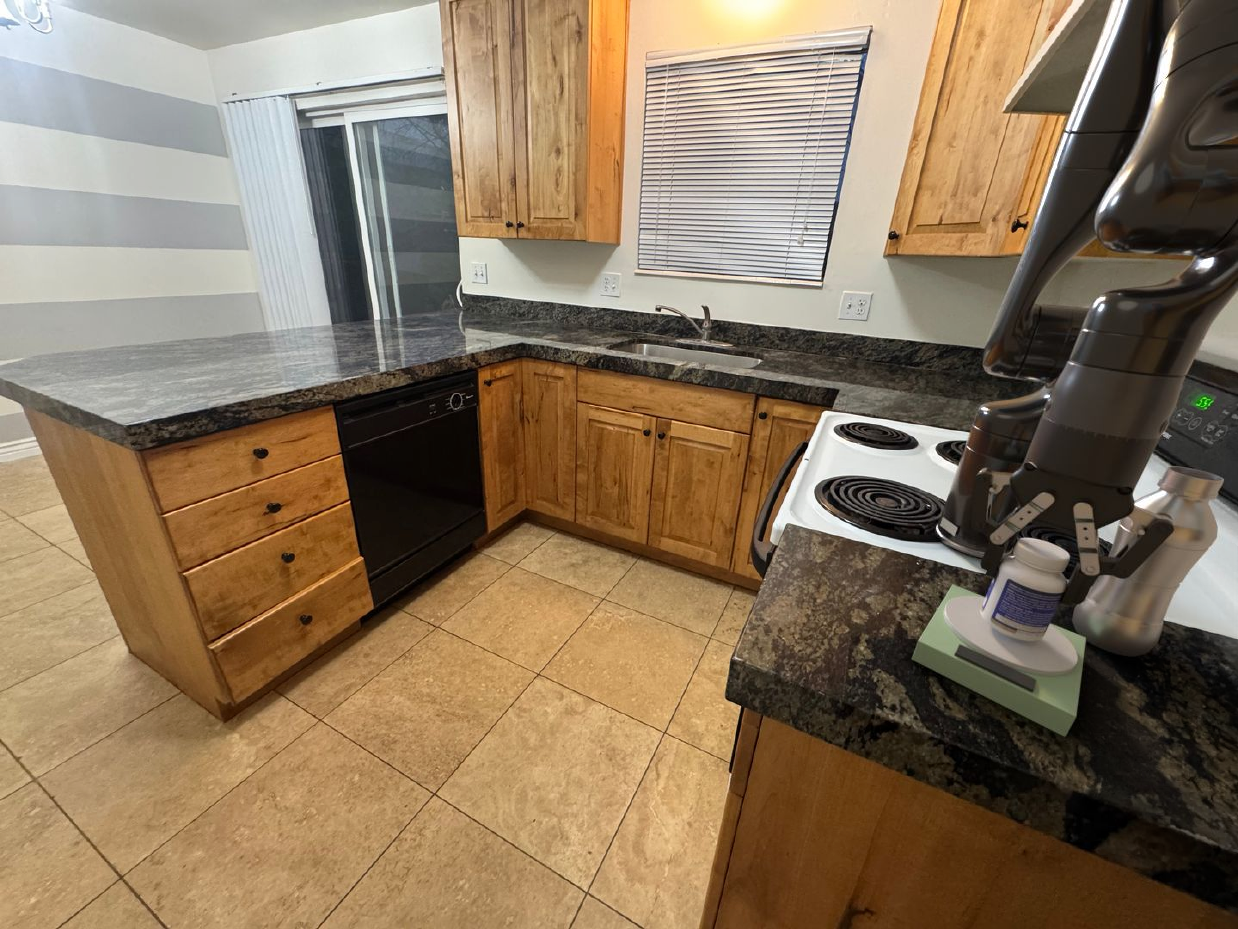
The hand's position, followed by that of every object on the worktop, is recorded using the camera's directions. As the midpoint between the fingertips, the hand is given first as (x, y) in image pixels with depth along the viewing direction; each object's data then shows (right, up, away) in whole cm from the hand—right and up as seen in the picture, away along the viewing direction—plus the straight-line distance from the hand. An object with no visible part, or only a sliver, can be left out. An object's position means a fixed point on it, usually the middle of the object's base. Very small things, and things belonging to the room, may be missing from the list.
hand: (1026, 587), depth 48 cm
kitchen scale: (-1, -8, +2) cm, 8 cm away
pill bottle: (0, -4, +2) cm, 5 cm away
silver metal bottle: (+13, -8, +6) cm, 16 cm away
